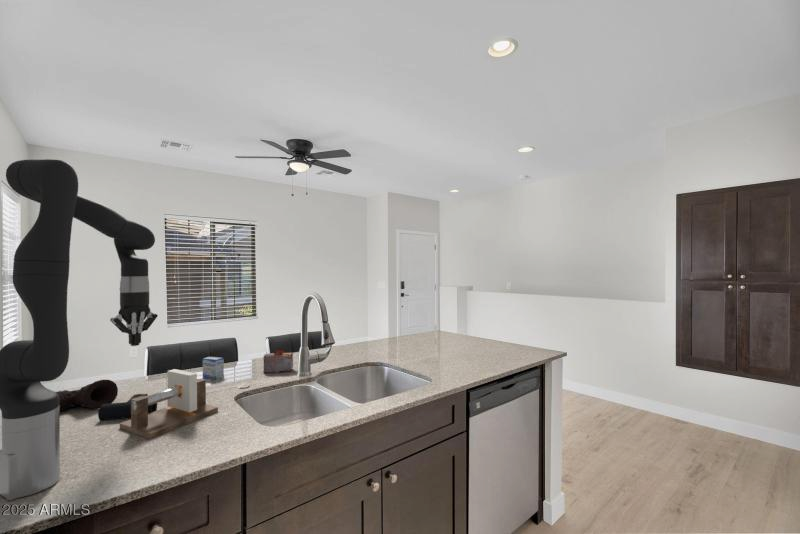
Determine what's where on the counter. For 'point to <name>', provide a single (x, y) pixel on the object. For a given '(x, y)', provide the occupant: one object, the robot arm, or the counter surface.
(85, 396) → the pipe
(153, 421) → the pipe stand
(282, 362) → the food item
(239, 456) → the counter surface
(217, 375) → the medicine box
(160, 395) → the steel pipe
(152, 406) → the pipe connector
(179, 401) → the white flat block
